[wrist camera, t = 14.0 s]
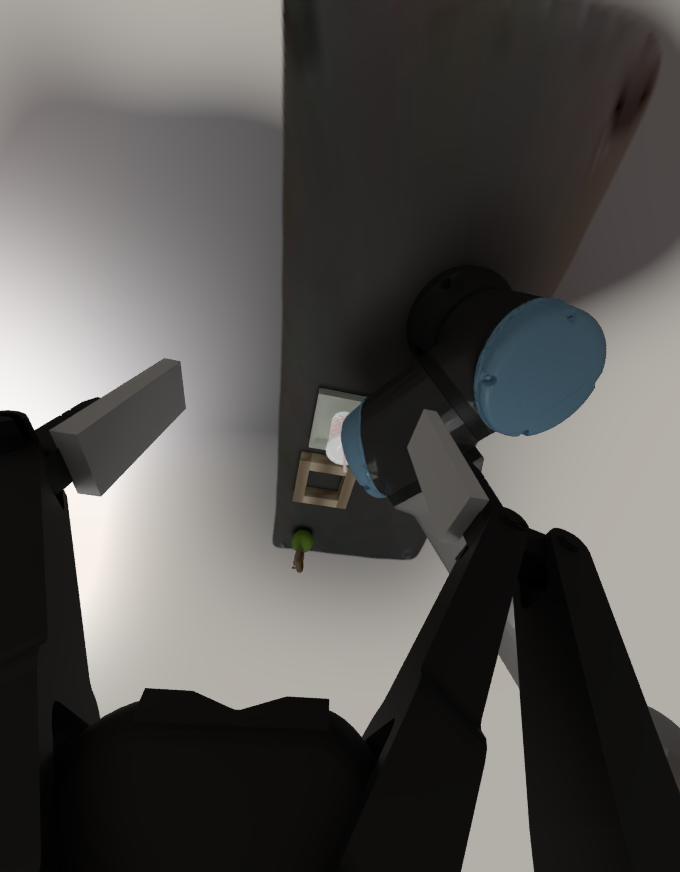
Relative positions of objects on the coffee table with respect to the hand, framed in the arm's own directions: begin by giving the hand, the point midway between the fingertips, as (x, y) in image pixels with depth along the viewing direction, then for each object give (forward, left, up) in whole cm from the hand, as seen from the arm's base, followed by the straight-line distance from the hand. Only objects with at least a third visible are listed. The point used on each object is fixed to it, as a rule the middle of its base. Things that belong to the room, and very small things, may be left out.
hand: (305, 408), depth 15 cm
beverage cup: (-7, +19, -31) cm, 37 cm away
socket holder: (-6, +34, -32) cm, 47 cm away
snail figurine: (-4, +54, -32) cm, 63 cm away
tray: (-7, +19, -32) cm, 38 cm away
